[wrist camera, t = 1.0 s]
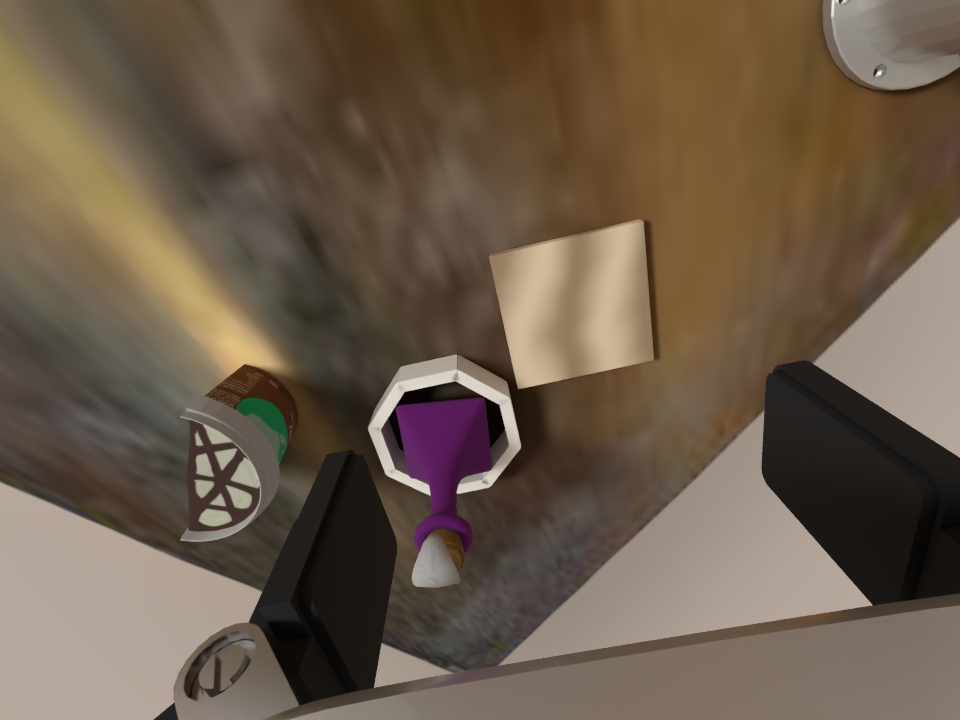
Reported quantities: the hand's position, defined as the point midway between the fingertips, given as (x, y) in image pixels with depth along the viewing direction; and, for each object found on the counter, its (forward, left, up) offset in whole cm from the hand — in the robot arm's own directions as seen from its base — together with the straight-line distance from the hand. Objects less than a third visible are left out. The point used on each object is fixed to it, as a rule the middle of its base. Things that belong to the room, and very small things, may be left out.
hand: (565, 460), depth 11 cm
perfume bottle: (+8, +15, -28) cm, 33 cm away
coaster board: (-5, +7, -28) cm, 29 cm away
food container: (+23, +11, -28) cm, 38 cm away
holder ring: (+8, +15, -28) cm, 33 cm away
